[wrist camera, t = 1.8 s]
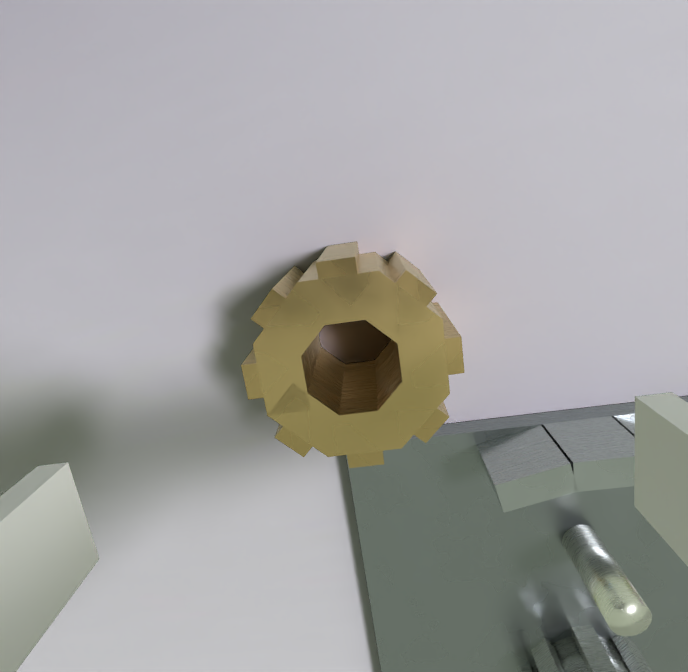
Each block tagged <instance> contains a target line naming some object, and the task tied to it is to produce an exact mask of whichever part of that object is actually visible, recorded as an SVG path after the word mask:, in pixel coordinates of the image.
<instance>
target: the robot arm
mask: <svg viewBox="0 0 688 672" xmlns="http://www.w3.org/2000/svg"><path fill="white" fill-rule="evenodd" d="M634 506H635V507H636V508H637V510H638V511H639V512H640V513H641V514H642V515H643V516H644V517H645V519H646V520H647V521H648V522H649V523H650V524H651V525H652V527H653V528H654V529H655V530H656V531H657V532H658V533H659V534H660V536H661V537H662V538H663V539H664V540H665V541H666V542H667V544H668V545H669V546H670V547H671V548H672V549H673V550H674V552H675V553H676V554H677V555H678V556H679V557H680V558H681V559H682V561H683V562H684V563H685V564H686V565H687V566H688V402H686V401H684V400H683V399H681V398H680V397H678V396H676V395H675V394H673V393H672V392H670V393H661V394H653V395H644V396H635V472H634ZM98 560H99V556H98V553H97V550H96V547H95V544H94V541H93V538H92V535H91V532H90V528H89V525H88V522H87V519H86V516H85V513H84V510H83V507H82V504H81V501H80V498H79V495H78V492H77V488H76V485H75V482H74V479H73V476H72V473H71V470H70V467H69V464H68V462H66V463H58V464H49V465H40V466H37V467H36V468H35V469H33V470H32V471H31V472H30V473H28V474H27V475H26V476H25V477H24V478H22V479H21V480H20V481H19V482H17V483H16V484H15V485H14V486H12V487H11V488H10V489H9V490H8V491H6V492H5V493H4V494H3V495H1V496H0V672H16V671H17V670H18V668H19V667H20V665H21V664H22V663H23V661H24V660H25V659H26V657H27V656H28V655H29V653H30V652H31V651H32V649H33V648H34V647H35V645H36V644H37V643H38V641H39V640H40V638H41V637H42V636H43V634H44V633H45V632H46V630H47V629H48V628H49V626H50V625H51V624H52V622H53V621H54V620H55V618H56V617H57V616H58V614H59V613H60V611H61V610H62V609H63V607H64V606H65V605H66V603H67V602H68V601H69V599H70V598H71V597H72V595H73V594H74V593H75V591H76V590H77V589H78V587H79V586H80V584H81V583H82V582H83V580H84V579H85V578H86V576H87V575H88V574H89V572H90V571H91V570H92V568H93V567H94V566H95V564H96V563H97V562H98Z"/></svg>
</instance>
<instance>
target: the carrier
mask: <svg viewBox="0 0 688 672" xmlns="http://www.w3.org/2000/svg"><path fill="white" fill-rule="evenodd" d="M680 398H681V399H683V400H684V401H686V402H688V396H682V397H680ZM383 454H384V464H383V465H374V466H365V467H356V468H349V465H348V458H347V455H346V459H347V465H348V471H349V477H350V483H351V489H352V496H353V502H354V508H355V514H356V520H357V526H358V532H359V538H360V545H361V551H362V557H363V563H364V569H365V575H366V581H367V588H368V594H369V600H370V606H371V612H372V618H373V624H374V630H375V637H376V643H377V649H378V655H379V661H380V667H381V672H688V566H687V565H686V564H685V563H684V562H683V561H682V559H681V558H680V557H679V556H678V555H677V554H676V553H675V552H674V550H673V549H672V548H671V547H670V546H669V545H668V544H667V542H666V541H665V540H664V539H663V538H662V537H661V536H660V534H659V533H658V532H657V531H656V530H655V529H654V528H653V527H652V525H651V524H650V523H649V522H648V521H647V520H646V519H645V517H644V516H643V515H642V514H641V513H640V512H639V511H638V510H637V508H636V507H635V506H634V472H635V402H631V403H622V404H613V405H605V406H596V407H587V408H579V409H570V410H562V411H553V412H544V413H536V414H527V415H519V416H510V417H501V418H493V419H484V420H475V421H467V422H458V423H450V424H443V425H442V426H441V427H440V428H439V429H438V430H437V431H436V433H435V434H434V435H433V436H432V437H431V438H430V439H429V440H428V442H427V443H425V442H423V441H422V440H420V439H419V438H418V437H416V436H415V435H413V436H412V437H411V438H410V440H409V441H408V442H407V443H406V444H405V445H404V446H403V448H402V449H393V450H384V451H383Z"/></svg>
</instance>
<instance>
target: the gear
mask: <svg viewBox="0 0 688 672" xmlns="http://www.w3.org/2000/svg"><path fill="white" fill-rule="evenodd" d="M436 294H437V293H436V291H435V290H434V289H433V287H432V286H431V285H430V283H429V282H428V281H427V279H426V278H425V277H424V275H423V274H422V273H421V271H420V270H419V269H418V268H417V267H415V266H414V265H413V264H411V263H410V262H409V261H407V260H406V259H405V258H404V257H402V256H401V255H400V254H398V253H397V252H396V251H395V253H394V254H393V255H392V257H391V258H390V259H389V260H388V262H387V261H386V260H385V259H383V258H382V257H381V256H380V255H378V254H377V253H376V252H371V253H365V254H359V250H358V243H357V242H350V243H343V244H336V245H330V246H327V247H326V249H325V250H324V252H323V253H322V254H321V256H320V257H319V258H318V260H316V261H313V263H312V264H311V265H310V267H309V268H308V269H307V271H306V272H305V273H304V272H302V271H301V270H300V269H298V268H297V267H295V266H294V267H293V268H292V269H291V270H290V271H289V272H288V273H287V274H286V275H285V276H284V277H283V278H282V279H281V280H280V281H279V282H278V283H277V284H276V285H275V286H274V287H273V288H272V289H271V291H270V292H269V294H268V295H267V296H266V298H265V299H264V301H263V302H262V303H261V305H260V306H259V308H258V309H257V310H256V312H255V313H254V315H253V316H252V317H251V320H253V321H254V322H255V323H257V324H258V325H260V326H261V327H262V328H264V329H263V331H262V332H261V333H260V335H259V336H258V338H257V339H256V340H255V342H254V343H253V349H252V351H251V352H250V354H249V355H248V356H247V358H246V359H245V360H244V362H243V363H242V365H241V367H242V372H243V377H244V381H245V386H246V391H247V395H248V400H249V399H257V398H264V402H265V406H266V411H267V416H269V417H270V418H272V419H273V420H275V421H276V422H278V423H279V427H278V430H277V432H276V435H275V438H276V439H278V440H279V441H281V442H282V443H284V444H285V445H286V446H288V447H289V448H291V449H292V450H294V451H295V452H297V453H298V454H300V455H301V456H303V457H304V456H305V455H306V454H307V453H308V451H309V450H310V449H311V448H312V446H313V447H314V448H316V449H317V450H319V451H320V452H322V453H323V454H325V455H326V456H327V457H331V456H340V455H347V458H348V465H349V468H356V467H365V466H374V465H383V464H384V454H383V451H384V450H393V449H402V448H403V446H404V445H405V444H406V443H407V442H408V441H409V440H410V438H411V437H412V436H413V435H415V436H416V437H418V438H419V439H420V440H422V441H423V442H425V443H427V442H428V440H429V439H430V438H431V437H432V436H433V435H434V434H435V433H436V431H437V430H438V429H439V428H440V427H441V426H442V425H443V424H444V422H445V421H446V420H447V419H448V418H449V415H448V412H447V410H446V407H445V405H444V402H443V401H444V400H445V399H446V397H447V396H448V395H449V394H450V390H449V379H448V375H451V374H459V373H464V363H463V352H462V340H461V336H460V334H459V333H458V331H457V330H456V329H455V327H454V326H453V324H452V323H451V321H450V320H449V318H448V317H447V315H446V314H445V313H444V311H443V310H442V308H441V307H440V305H439V304H438V302H437V303H432V302H431V300H432V299H433V298H434V297H435V296H436ZM360 320H366V321H368V322H369V323H370V324H372V325H373V326H374V327H376V328H377V329H378V330H380V331H381V332H382V333H384V334H385V335H387V336H388V337H389V338H391V339H392V340H391V341H390V342H389V343H388V345H387V346H386V347H385V348H384V349H383V351H382V352H381V353H380V354H379V356H378V357H377V358H376V359H375V360H373V361H366V362H358V363H350V364H344V363H343V362H341V361H340V360H339V359H337V358H336V357H334V356H333V355H332V354H330V353H329V352H327V351H326V350H325V349H323V348H322V347H321V344H320V338H319V332H320V331H321V329H322V328H323V327H324V325H330V324H338V323H345V322H353V321H360Z"/></svg>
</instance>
